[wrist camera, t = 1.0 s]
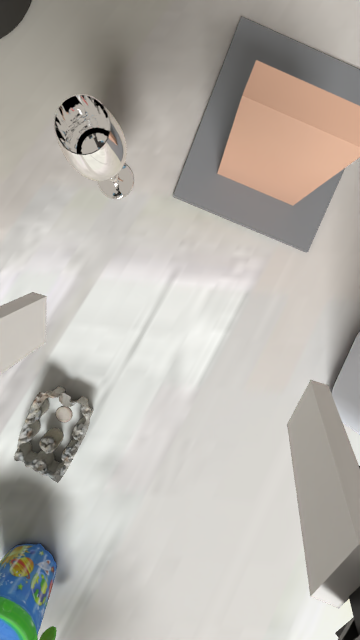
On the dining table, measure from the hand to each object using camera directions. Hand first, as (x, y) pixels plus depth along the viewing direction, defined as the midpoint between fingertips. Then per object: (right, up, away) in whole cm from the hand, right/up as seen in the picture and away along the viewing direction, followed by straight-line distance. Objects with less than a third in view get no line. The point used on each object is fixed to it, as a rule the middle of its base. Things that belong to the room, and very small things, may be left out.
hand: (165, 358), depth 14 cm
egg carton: (-15, -12, +25) cm, 32 cm away
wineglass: (-7, +19, +21) cm, 29 cm away
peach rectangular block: (+10, +19, +21) cm, 30 cm away
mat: (+12, +23, +21) cm, 34 cm away
